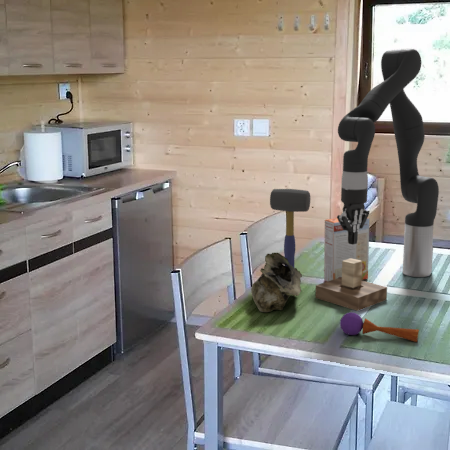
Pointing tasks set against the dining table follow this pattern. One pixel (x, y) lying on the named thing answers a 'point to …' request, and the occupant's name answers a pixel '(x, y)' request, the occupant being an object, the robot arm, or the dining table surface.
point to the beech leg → (351, 274)
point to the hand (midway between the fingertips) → (352, 243)
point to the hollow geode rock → (275, 283)
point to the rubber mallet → (290, 214)
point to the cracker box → (344, 249)
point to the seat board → (351, 294)
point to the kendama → (373, 327)
